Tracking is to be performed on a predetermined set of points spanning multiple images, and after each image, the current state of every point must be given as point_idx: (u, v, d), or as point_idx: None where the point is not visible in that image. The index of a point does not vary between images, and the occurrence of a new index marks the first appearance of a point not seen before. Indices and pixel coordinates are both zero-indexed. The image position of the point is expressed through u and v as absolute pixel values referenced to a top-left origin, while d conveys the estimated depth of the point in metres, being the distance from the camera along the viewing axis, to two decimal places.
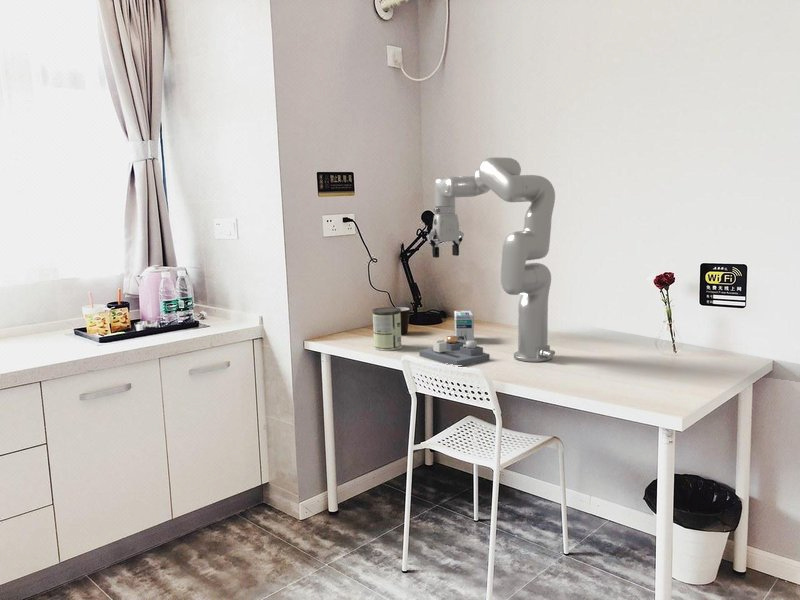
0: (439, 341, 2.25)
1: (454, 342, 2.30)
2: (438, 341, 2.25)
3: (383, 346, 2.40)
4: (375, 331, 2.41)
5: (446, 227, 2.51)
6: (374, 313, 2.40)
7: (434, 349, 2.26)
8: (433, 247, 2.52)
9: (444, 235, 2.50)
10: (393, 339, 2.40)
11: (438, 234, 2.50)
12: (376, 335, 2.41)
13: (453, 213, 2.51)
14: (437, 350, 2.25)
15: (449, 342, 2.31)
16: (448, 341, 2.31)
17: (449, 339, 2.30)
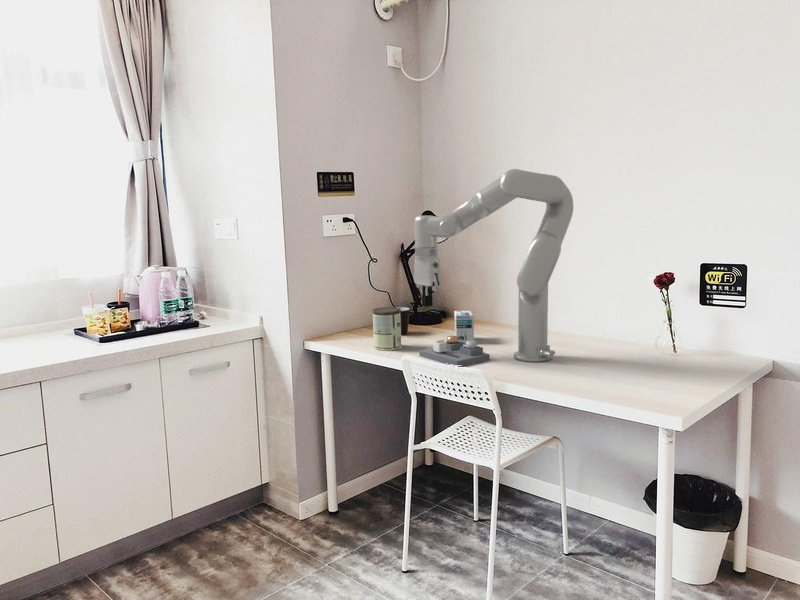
0: (439, 341, 2.25)
1: (454, 342, 2.30)
2: (438, 341, 2.25)
3: (383, 346, 2.40)
4: (375, 331, 2.41)
5: None
6: (374, 313, 2.40)
7: (434, 349, 2.26)
8: (429, 295, 2.28)
9: None
10: (393, 339, 2.40)
11: (440, 278, 2.25)
12: (376, 335, 2.41)
13: None
14: (437, 350, 2.25)
15: (449, 342, 2.31)
16: (448, 341, 2.31)
17: (449, 339, 2.30)
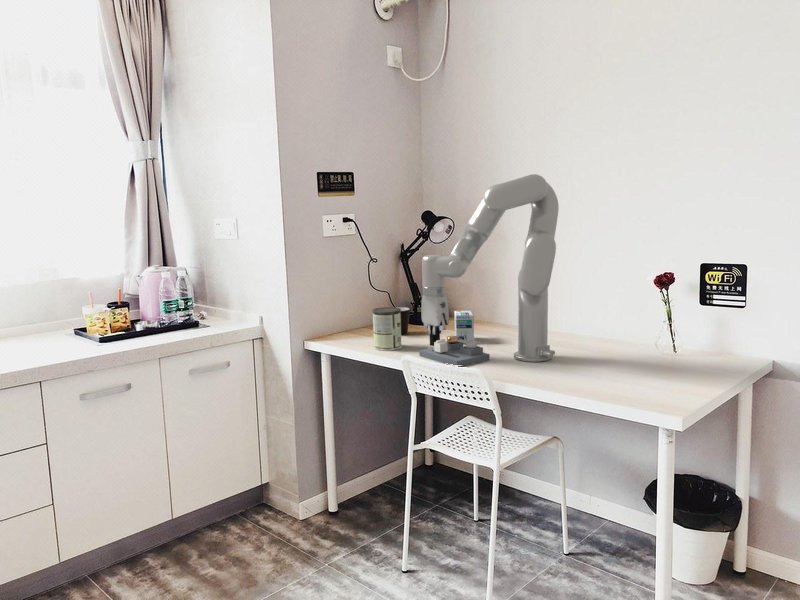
0: (440, 341, 2.25)
1: (454, 342, 2.30)
2: (439, 341, 2.25)
3: (383, 346, 2.40)
4: (375, 332, 2.41)
5: None
6: (374, 313, 2.40)
7: (435, 350, 2.26)
8: (437, 334, 2.27)
9: None
10: (393, 339, 2.40)
11: (448, 317, 2.24)
12: (376, 335, 2.41)
13: None
14: (438, 350, 2.25)
15: (449, 342, 2.31)
16: (448, 341, 2.31)
17: (449, 339, 2.30)
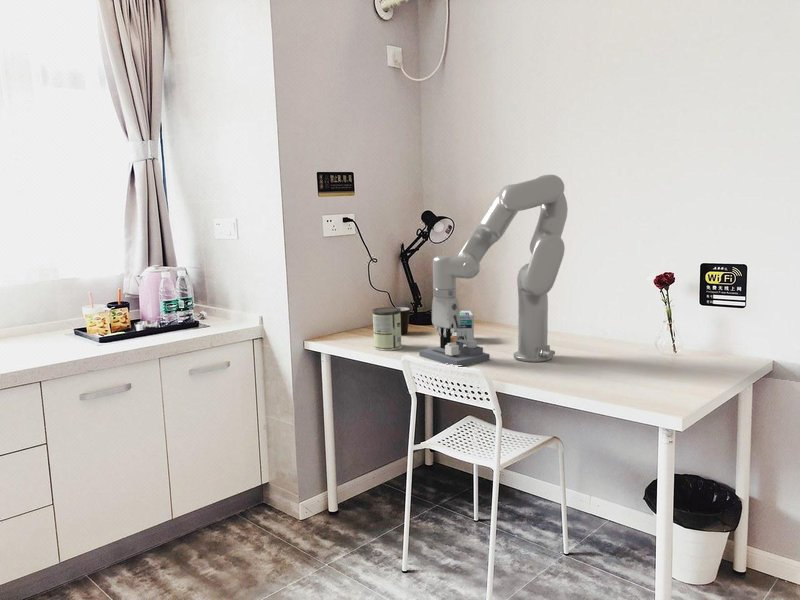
0: (451, 344, 2.20)
1: None
2: (450, 344, 2.20)
3: (383, 346, 2.40)
4: (375, 332, 2.41)
5: None
6: (374, 313, 2.40)
7: (446, 353, 2.21)
8: (448, 337, 2.22)
9: None
10: (393, 339, 2.40)
11: (459, 319, 2.19)
12: (376, 335, 2.41)
13: None
14: (449, 353, 2.20)
15: None
16: None
17: None
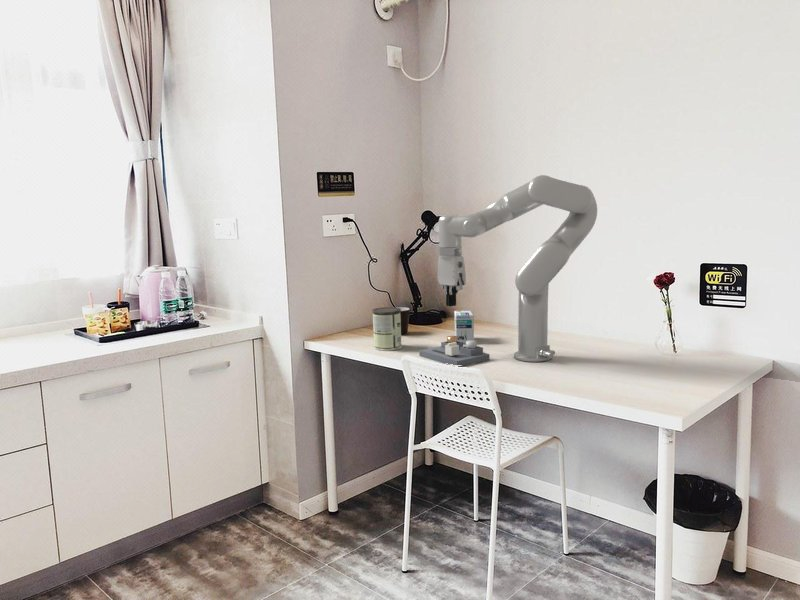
0: (451, 344, 2.20)
1: None
2: (450, 344, 2.20)
3: (383, 346, 2.40)
4: (375, 332, 2.41)
5: None
6: (374, 313, 2.40)
7: (446, 353, 2.21)
8: (453, 295, 2.28)
9: None
10: (393, 339, 2.40)
11: (464, 277, 2.25)
12: (376, 335, 2.41)
13: None
14: (449, 353, 2.20)
15: (449, 342, 2.31)
16: (448, 341, 2.31)
17: (449, 339, 2.30)
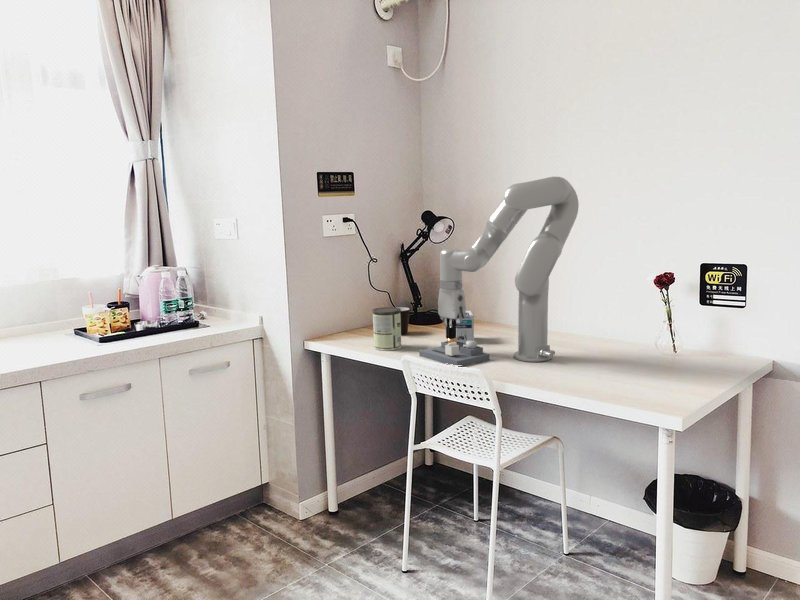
0: (451, 344, 2.20)
1: None
2: (450, 344, 2.20)
3: (383, 346, 2.40)
4: (375, 331, 2.41)
5: None
6: (374, 313, 2.40)
7: (446, 353, 2.21)
8: (453, 327, 2.30)
9: None
10: (393, 339, 2.40)
11: (464, 311, 2.27)
12: (376, 335, 2.41)
13: None
14: (449, 353, 2.20)
15: None
16: (448, 342, 2.31)
17: (449, 340, 2.30)
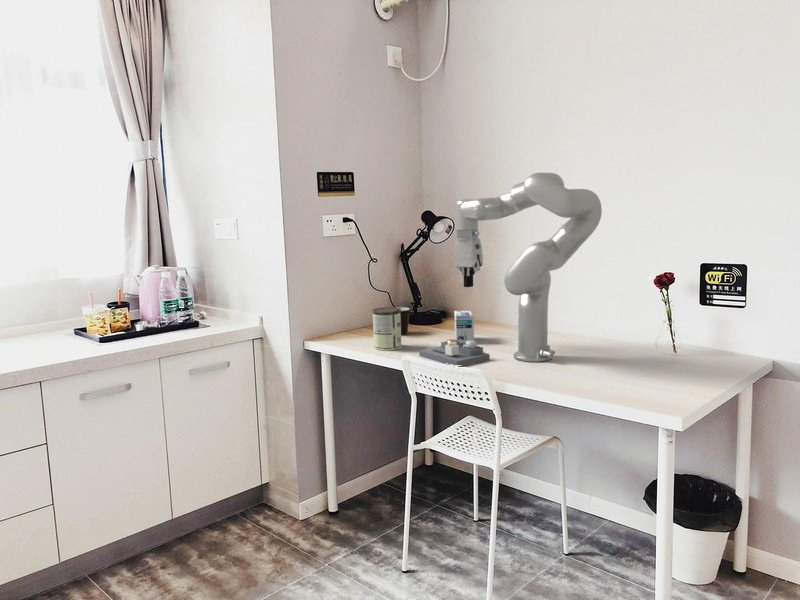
0: (451, 344, 2.20)
1: None
2: (450, 344, 2.20)
3: (383, 346, 2.40)
4: (375, 331, 2.41)
5: None
6: (374, 313, 2.40)
7: (446, 353, 2.21)
8: (471, 276, 2.37)
9: None
10: (393, 339, 2.40)
11: (482, 259, 2.34)
12: (376, 335, 2.41)
13: None
14: (449, 353, 2.20)
15: None
16: None
17: None
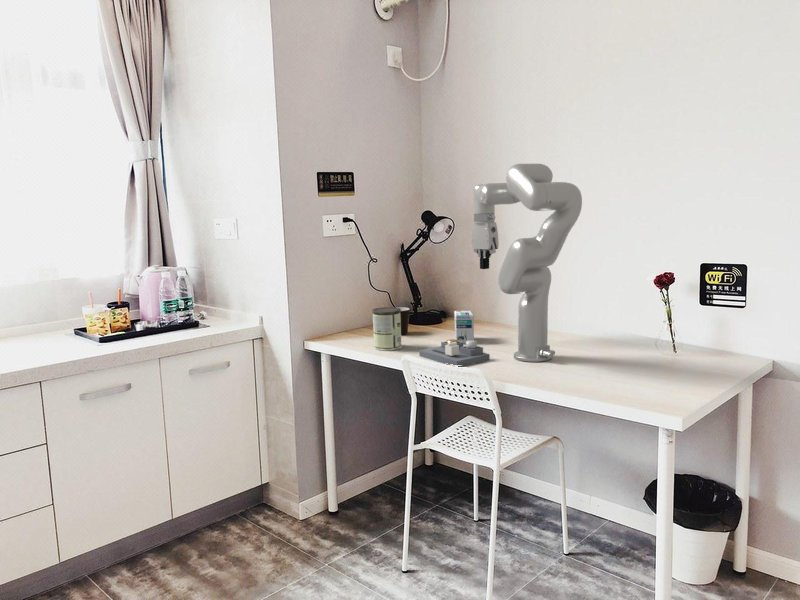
0: (451, 344, 2.20)
1: None
2: (450, 344, 2.20)
3: (383, 346, 2.40)
4: (375, 332, 2.41)
5: None
6: (374, 313, 2.40)
7: (446, 353, 2.21)
8: (487, 258, 2.46)
9: None
10: (393, 339, 2.40)
11: (497, 242, 2.43)
12: (376, 335, 2.41)
13: None
14: (449, 353, 2.20)
15: None
16: None
17: None
